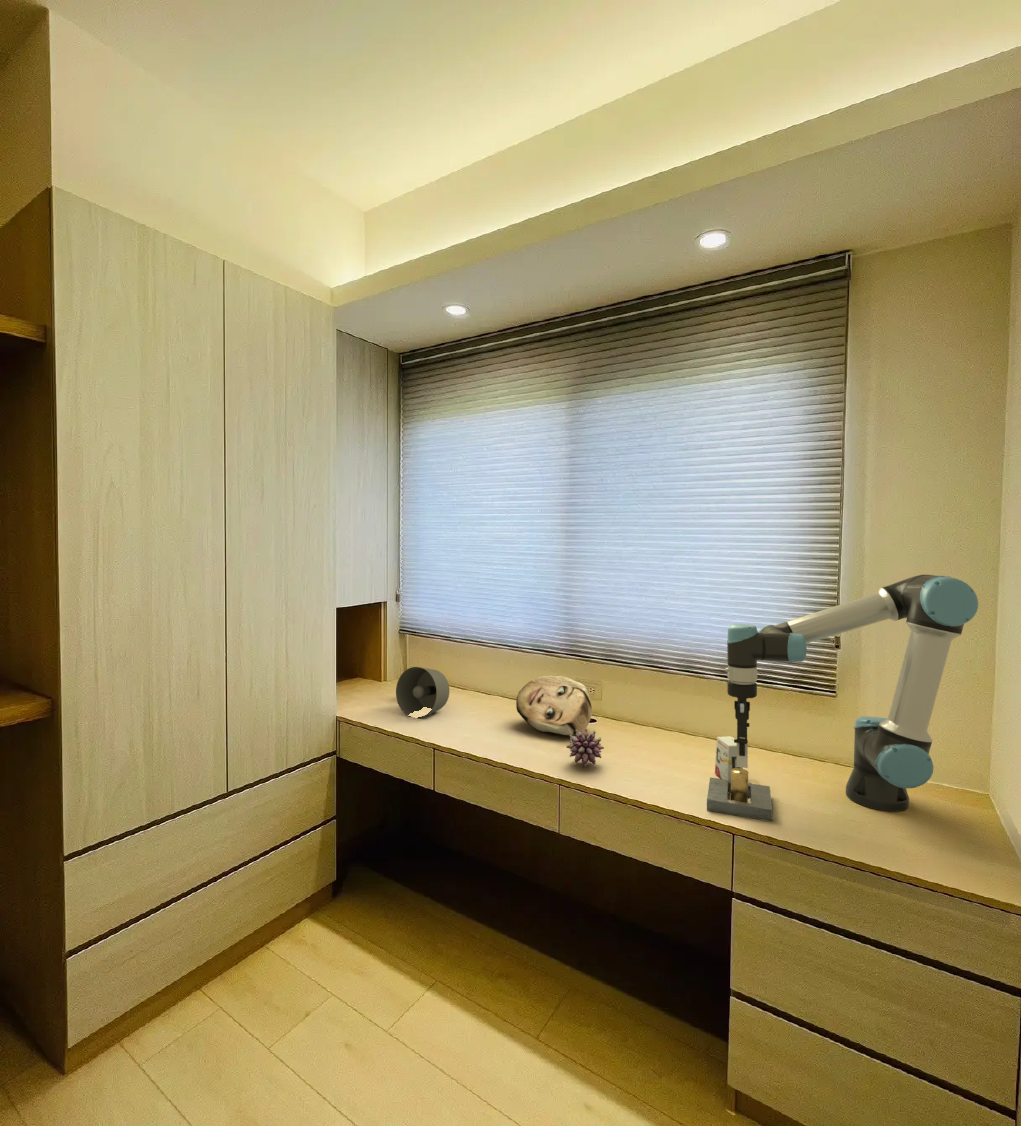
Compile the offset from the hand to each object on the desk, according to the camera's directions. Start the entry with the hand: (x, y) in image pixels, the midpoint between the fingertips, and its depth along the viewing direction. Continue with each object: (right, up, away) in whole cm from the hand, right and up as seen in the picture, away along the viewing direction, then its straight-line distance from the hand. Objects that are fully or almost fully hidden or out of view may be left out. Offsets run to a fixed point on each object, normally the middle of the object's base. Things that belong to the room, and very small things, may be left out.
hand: (742, 758), depth 161 cm
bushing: (-1, -13, +1) cm, 13 cm away
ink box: (+3, -12, +18) cm, 22 cm away
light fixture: (-99, -9, +89) cm, 133 cm away
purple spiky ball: (-40, -11, +27) cm, 49 cm away
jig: (-1, -13, +1) cm, 13 cm away
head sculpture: (-48, -10, +62) cm, 79 cm away
